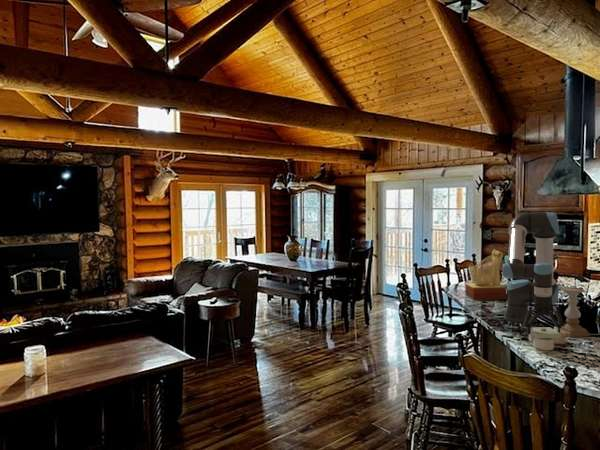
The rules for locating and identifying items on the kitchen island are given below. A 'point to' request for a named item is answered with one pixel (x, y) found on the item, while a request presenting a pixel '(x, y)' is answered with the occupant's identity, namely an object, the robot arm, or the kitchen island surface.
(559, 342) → the block
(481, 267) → the decorative skull
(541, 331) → the lid
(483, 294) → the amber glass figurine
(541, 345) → the bowl
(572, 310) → the candle holder
